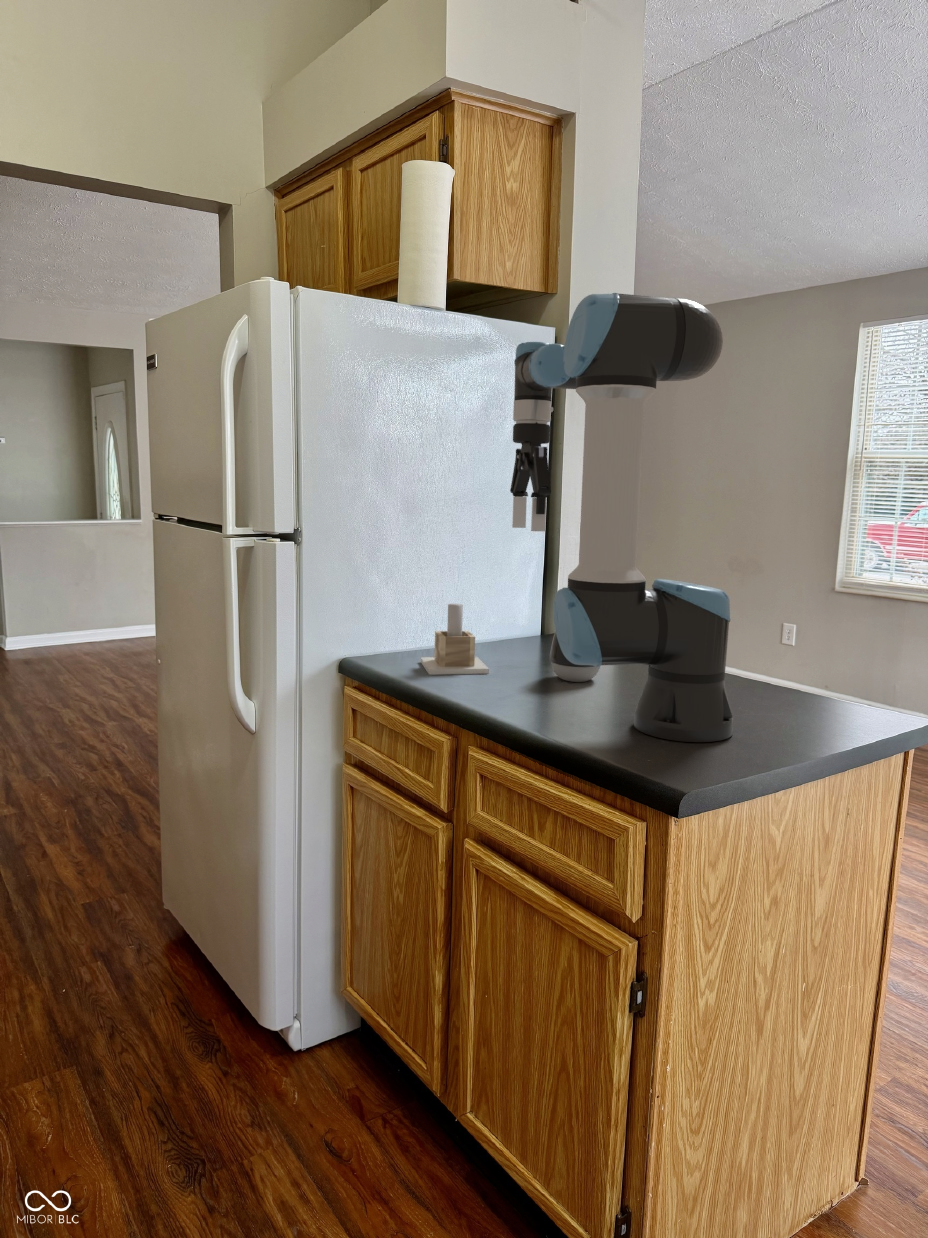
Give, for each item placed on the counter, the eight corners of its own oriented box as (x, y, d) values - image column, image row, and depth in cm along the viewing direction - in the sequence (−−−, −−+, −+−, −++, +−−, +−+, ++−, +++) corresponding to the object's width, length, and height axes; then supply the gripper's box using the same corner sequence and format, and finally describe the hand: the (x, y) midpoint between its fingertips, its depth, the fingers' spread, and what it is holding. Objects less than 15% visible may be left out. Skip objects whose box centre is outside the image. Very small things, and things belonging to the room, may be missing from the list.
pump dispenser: (599, 674, 177) (603, 599, 175) (602, 686, 167) (607, 607, 165) (549, 672, 178) (552, 597, 176) (548, 683, 168) (552, 604, 166)
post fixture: (488, 673, 175) (490, 609, 173) (429, 674, 173) (430, 609, 171) (476, 661, 187) (478, 600, 185) (420, 662, 185) (421, 600, 183)
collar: (474, 666, 177) (475, 636, 176) (440, 666, 176) (440, 637, 175) (467, 659, 184) (468, 630, 183) (434, 659, 183) (435, 631, 182)
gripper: (570, 419, 166) (565, 533, 169) (531, 427, 190) (528, 526, 193) (532, 418, 164) (528, 532, 167) (498, 426, 188) (495, 526, 191)
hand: (528, 529), depth 180 cm, fingers open, 13 cm apart
